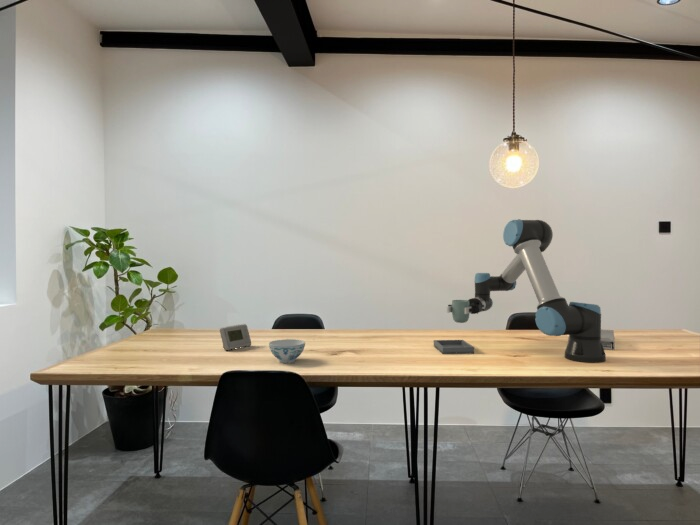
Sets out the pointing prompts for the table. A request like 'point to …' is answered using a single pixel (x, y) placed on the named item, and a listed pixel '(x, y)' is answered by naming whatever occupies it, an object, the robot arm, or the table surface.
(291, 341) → the chinaware
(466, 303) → the cup
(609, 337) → the power supply unit
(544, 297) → the robot arm
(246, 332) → the digital clock
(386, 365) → the table surface
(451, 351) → the tray
